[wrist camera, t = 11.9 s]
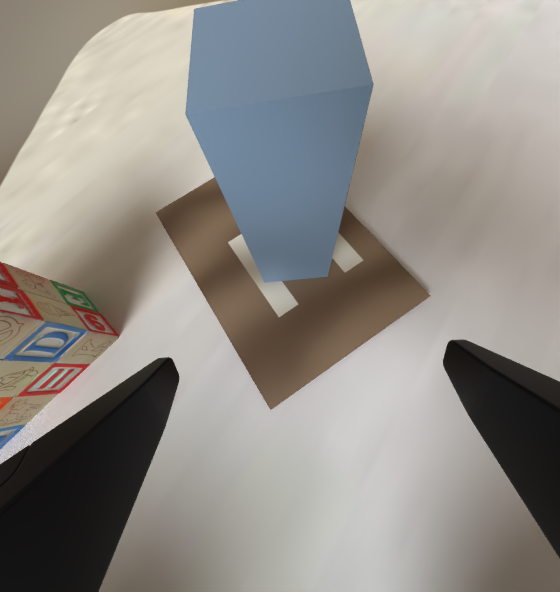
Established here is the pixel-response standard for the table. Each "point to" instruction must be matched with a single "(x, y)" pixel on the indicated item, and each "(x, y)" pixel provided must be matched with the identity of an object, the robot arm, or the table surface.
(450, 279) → the table surface
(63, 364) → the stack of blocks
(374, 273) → the letter board
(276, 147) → the blue pillar
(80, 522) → the robot arm
